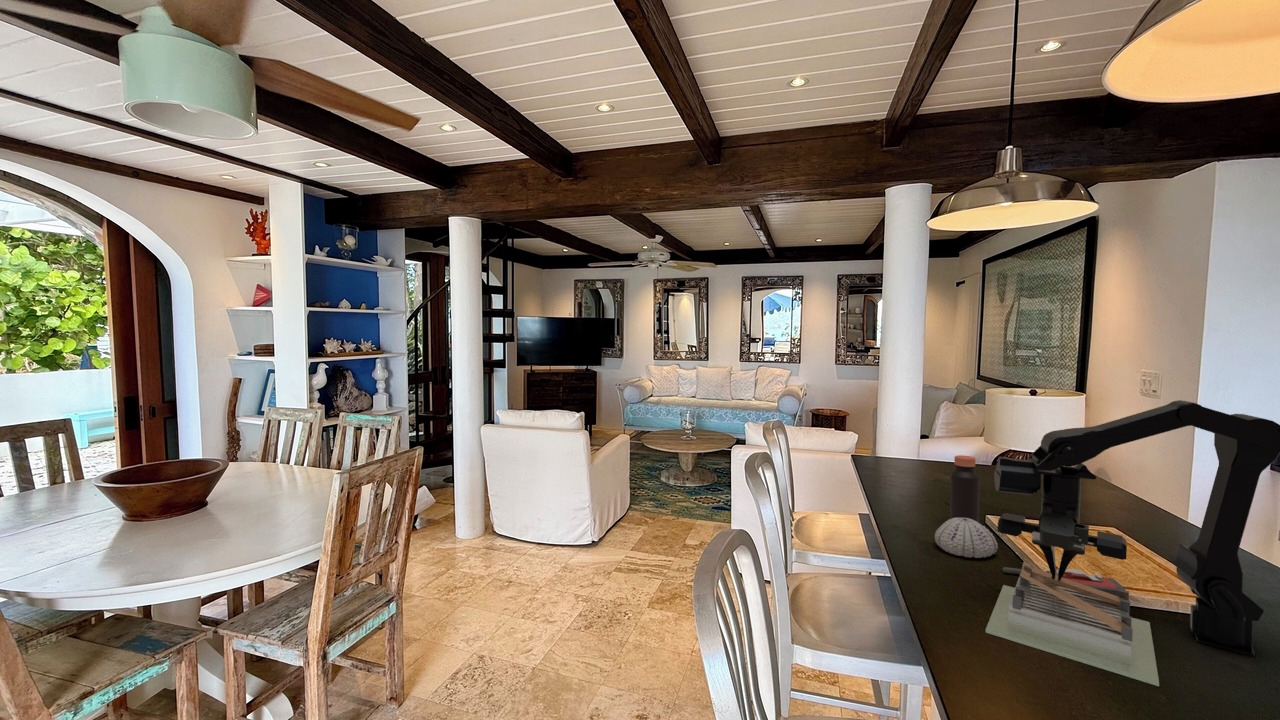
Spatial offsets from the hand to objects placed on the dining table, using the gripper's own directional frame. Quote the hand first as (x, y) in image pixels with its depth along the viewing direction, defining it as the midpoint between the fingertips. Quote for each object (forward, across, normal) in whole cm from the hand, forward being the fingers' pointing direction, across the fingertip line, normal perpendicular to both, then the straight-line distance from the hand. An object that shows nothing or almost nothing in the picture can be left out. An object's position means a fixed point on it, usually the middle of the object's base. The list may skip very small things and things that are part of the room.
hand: (1056, 577), depth 98 cm
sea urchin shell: (+8, -19, +22) cm, 30 cm away
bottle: (+8, -22, +39) cm, 46 cm away
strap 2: (-1, +3, -11) cm, 12 cm away
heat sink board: (+7, +2, -6) cm, 9 cm away
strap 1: (+1, +2, 0) cm, 2 cm away
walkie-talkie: (+7, +1, +14) cm, 16 cm away
